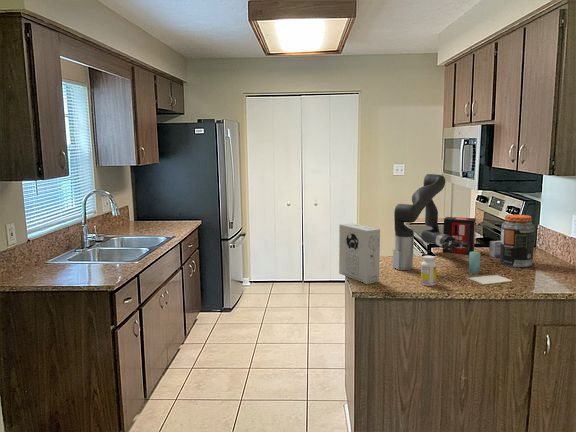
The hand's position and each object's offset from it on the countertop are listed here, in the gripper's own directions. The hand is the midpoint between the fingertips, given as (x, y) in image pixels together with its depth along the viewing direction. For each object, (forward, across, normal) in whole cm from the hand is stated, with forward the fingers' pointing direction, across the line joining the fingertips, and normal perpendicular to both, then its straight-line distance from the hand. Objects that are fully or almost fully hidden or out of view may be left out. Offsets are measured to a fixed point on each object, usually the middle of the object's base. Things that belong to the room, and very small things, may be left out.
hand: (462, 248), depth 244 cm
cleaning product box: (-30, +17, +11) cm, 36 cm away
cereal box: (+7, -59, +9) cm, 60 cm away
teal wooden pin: (+12, 0, +10) cm, 15 cm away
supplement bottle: (+24, -32, +9) cm, 42 cm away
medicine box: (-15, +32, +11) cm, 37 cm away
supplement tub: (+3, +30, +10) cm, 32 cm away
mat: (+25, -1, +10) cm, 26 cm away
